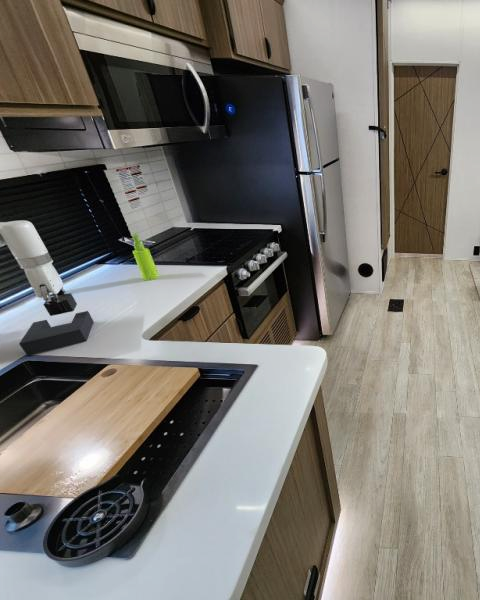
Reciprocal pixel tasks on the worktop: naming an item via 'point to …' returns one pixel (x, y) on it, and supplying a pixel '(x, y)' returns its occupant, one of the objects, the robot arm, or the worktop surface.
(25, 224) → the robot arm
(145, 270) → the soap dispenser
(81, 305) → the worktop surface
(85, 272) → the worktop surface
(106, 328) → the worktop surface
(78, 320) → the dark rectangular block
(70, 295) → the dark grey squat block
